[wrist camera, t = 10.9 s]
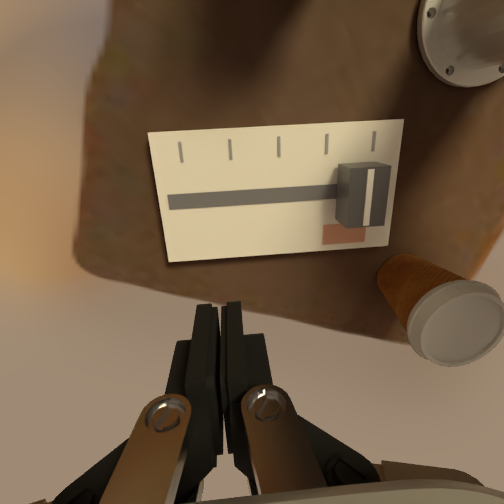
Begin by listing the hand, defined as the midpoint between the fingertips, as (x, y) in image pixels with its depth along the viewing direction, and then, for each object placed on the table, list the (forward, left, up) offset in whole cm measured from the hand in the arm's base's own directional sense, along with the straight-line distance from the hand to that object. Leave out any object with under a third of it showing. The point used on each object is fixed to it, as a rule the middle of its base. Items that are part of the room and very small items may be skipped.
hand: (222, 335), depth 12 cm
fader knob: (-14, 0, -23) cm, 27 cm away
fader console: (-6, 0, -25) cm, 26 cm away
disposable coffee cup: (-22, +12, -25) cm, 36 cm away
